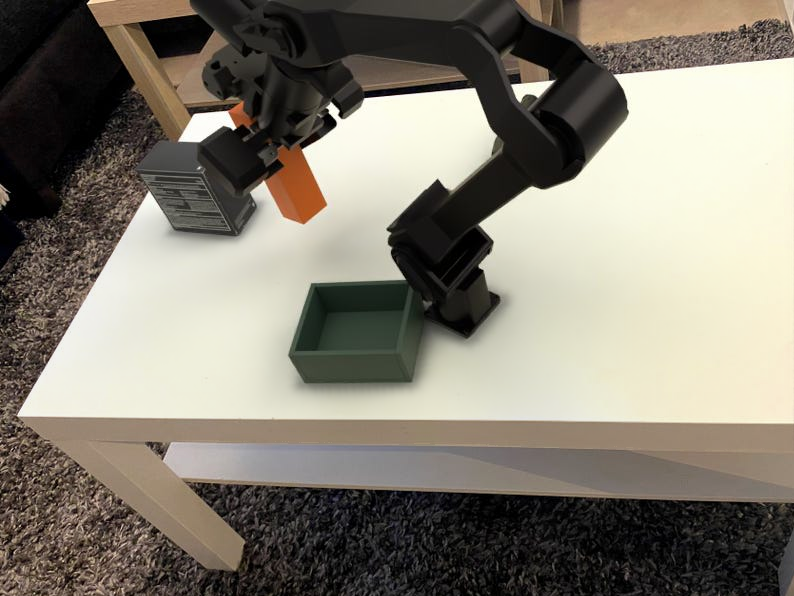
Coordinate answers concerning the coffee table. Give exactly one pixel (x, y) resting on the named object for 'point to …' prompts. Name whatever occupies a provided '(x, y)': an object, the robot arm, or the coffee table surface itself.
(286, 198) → the orange rectangular block
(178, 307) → the coffee table surface
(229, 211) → the small box
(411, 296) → the bin
